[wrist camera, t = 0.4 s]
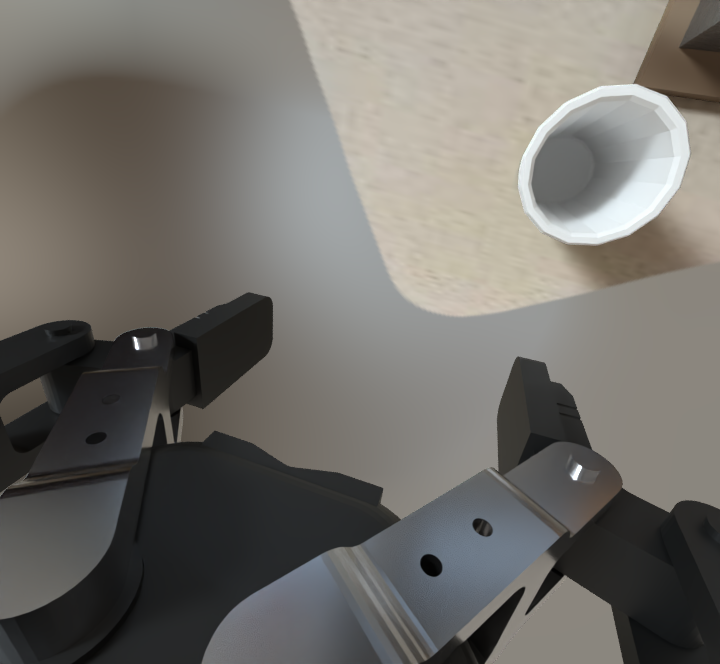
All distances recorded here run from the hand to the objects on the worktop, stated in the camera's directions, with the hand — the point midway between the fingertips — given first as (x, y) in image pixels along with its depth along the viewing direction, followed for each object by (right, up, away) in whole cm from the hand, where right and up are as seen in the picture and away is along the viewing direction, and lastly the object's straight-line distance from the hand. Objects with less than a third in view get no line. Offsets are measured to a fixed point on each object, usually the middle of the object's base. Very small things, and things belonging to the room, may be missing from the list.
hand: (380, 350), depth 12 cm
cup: (+17, +15, +21) cm, 30 cm away
